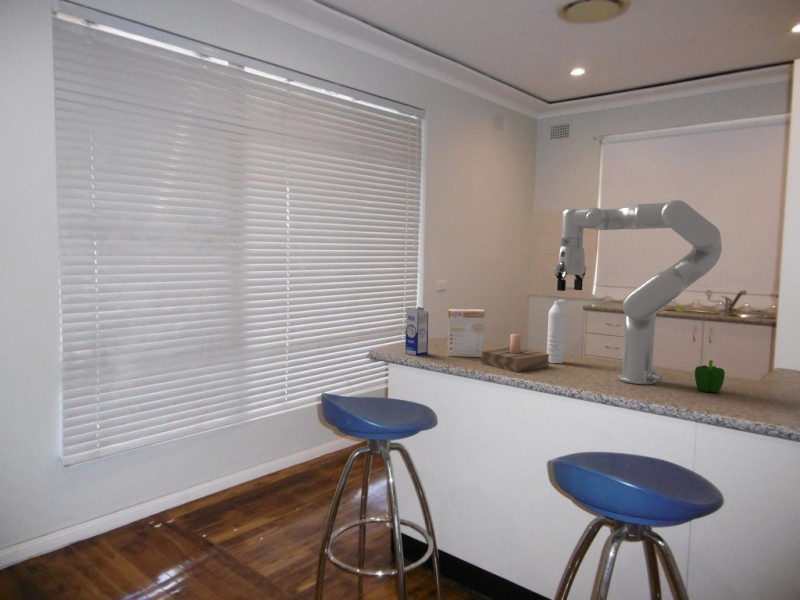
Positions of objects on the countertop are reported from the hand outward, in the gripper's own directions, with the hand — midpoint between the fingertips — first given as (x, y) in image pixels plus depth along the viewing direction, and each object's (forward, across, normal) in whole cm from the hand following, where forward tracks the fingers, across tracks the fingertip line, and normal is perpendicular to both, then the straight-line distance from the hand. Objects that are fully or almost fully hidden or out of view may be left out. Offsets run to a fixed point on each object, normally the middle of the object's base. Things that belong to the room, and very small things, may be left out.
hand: (569, 290), depth 198 cm
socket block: (+30, -8, +18) cm, 36 cm away
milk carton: (+30, -27, +56) cm, 69 cm away
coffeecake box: (+31, -11, +43) cm, 54 cm away
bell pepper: (+31, +17, -43) cm, 55 cm away
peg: (+30, -8, +18) cm, 36 cm away
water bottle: (+31, +12, +14) cm, 36 cm away
